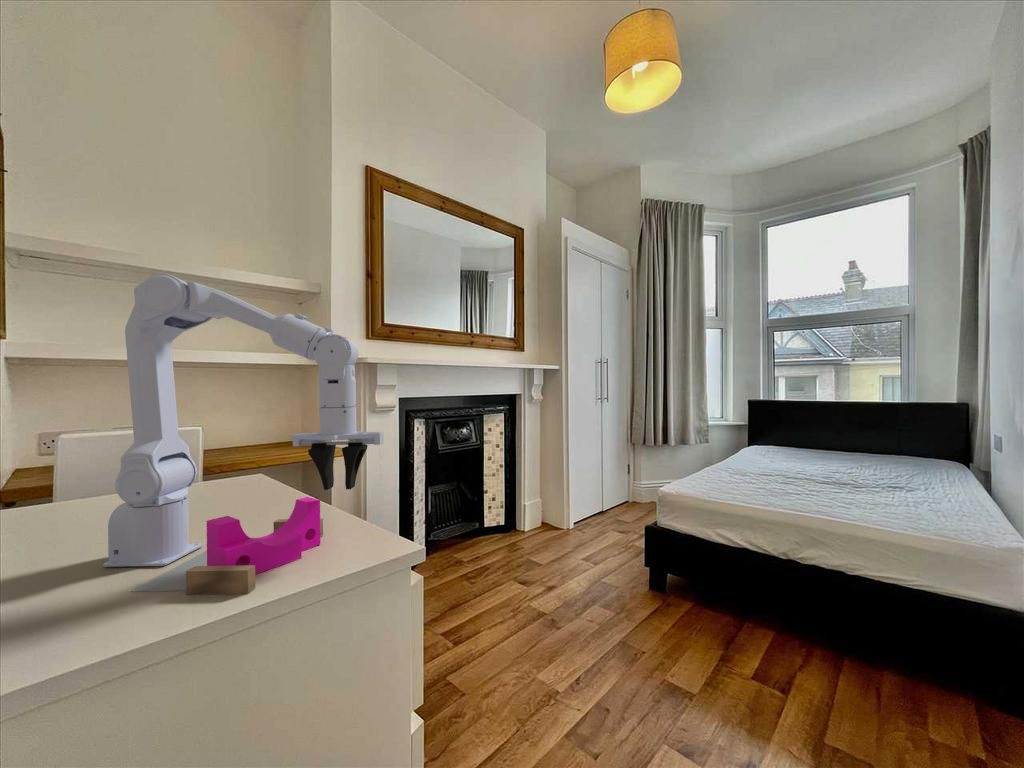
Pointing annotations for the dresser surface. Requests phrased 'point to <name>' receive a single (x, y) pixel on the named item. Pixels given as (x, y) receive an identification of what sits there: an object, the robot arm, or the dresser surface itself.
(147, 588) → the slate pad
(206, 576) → the pair of brown pieces
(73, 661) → the dresser surface
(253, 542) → the toy block
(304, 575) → the dresser surface
